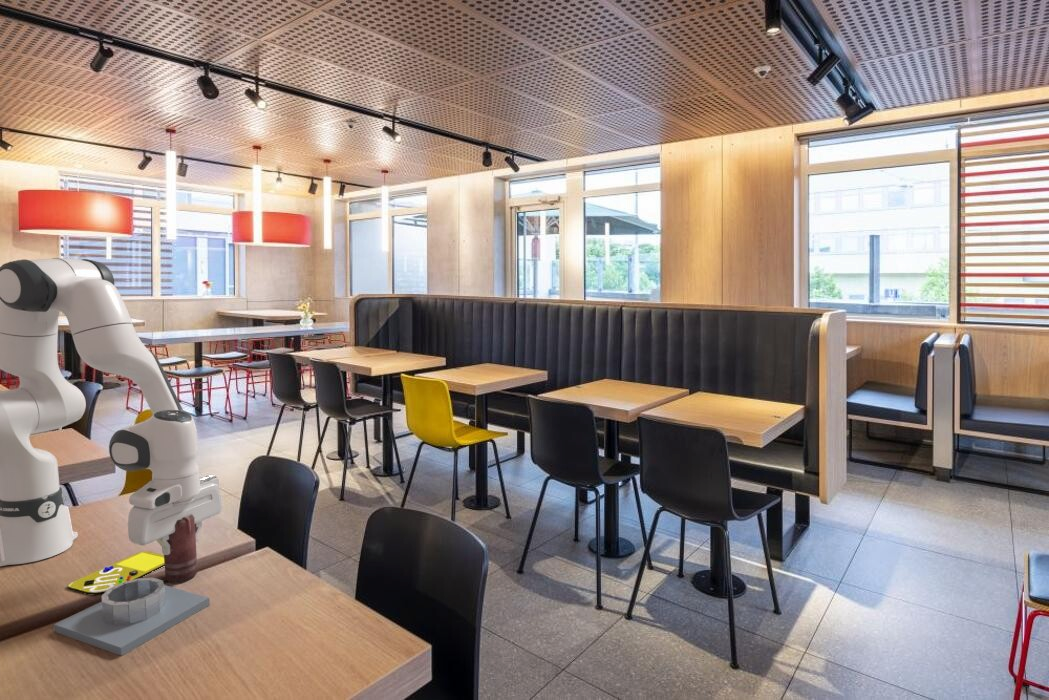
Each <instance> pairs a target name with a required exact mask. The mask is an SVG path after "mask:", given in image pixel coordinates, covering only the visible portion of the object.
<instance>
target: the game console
mask: <svg viewBox="0 0 1049 700" xmlns="http://www.w3.org/2000/svg"><path fill="white" fill-rule="evenodd" d="M163 566H165V565H164V554H160V553H157V552H152V551H147V550H144V551H140V552H136V553H134V554H132V555H129V556H127V557H126V558H123V559H121V560H119V561H116V562H114V563H111V564H110V565H107V566H105V567H102V568H100V569H99V570H96V571H94V572H92V573H89V574H87V575H84V576H83V577H80V578H77V579H76V580H74V581H71V582H70V583H69V584H68V585H67V588H68V590H70V591H73V590H74V592H76V593H80V592H82V593H81V594H84V593H86V594H85V595H88V594H94V595H93V596H99V595H101V596H102V595H103V594H104V593H105V592H106V591H107V590H108V589H109V588H112V587H114V586H116V585H118V584H120V583H123V582H126V581H130V580H134V579H139V578H141V577H143V576H145V575H147V574H149V573H151V572H152V571H155V570H157V569H159V568H161V567H163ZM163 568H164V567H163ZM161 569H162V568H161ZM159 570H160V569H159ZM157 571H158V570H157ZM155 572H156V571H155ZM151 574H152V573H151ZM149 575H150V574H149ZM147 576H148V575H147ZM145 577H146V576H145ZM143 578H144V577H143Z"/></svg>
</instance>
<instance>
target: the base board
mask: <svg viewBox="0 0 1049 700" xmlns="http://www.w3.org/2000/svg"><path fill="white" fill-rule="evenodd" d="M164 585H165V599H166V606H165V607H164V608H163V609H162V611H161V612H160V613H158V614H156V615H155V616H153V617H151V618H149V619H147V620H144V621H141V622H137V623H134V624H130V625H117V626H113V625H110V624H107V623H104V620H103V611H102V600H101V601H100V602H97V603H95V604H93V605H92V606H91V605H90V606H89V607H87V608H84V610H80V611H79V612H77V613H75V614H72V615H71V616H69V617H66V618H64V619H62V620H60V621H59V622H56V623H54V624H53V628H54V629H53V630H54V633H57V634H59V635H62V636H65V637H68V638H70V639H73V640H75V641H79V642H82V643H85V644H88V645H90V646H93V647H95V648H99V649H101V650H104V651H107V652H109V653H113V654H116V655H118V656H121V657H122V656H124V655H126V654H127V653H129V652H131V651H133V650H134V649H136V648H138V647H139V646H141V645H143V644H144V643H146V642H148V641H150V640H152V639H153V638H155V637H157V636H159V635H160V634H162V633H164V632H165V631H167V630H169V629H171V628H172V627H174V626H176V625H177V624H179V623H181V622H182V621H185V620H186V619H188V618H190V617H191V616H193V615H194V614H196V613H198V612H199V611H200V612H201V610H203V609H205V608H207V607H209V606H210V604H211V603H210V597H207V596H204V595H200V594H197V593H193V592H190V591H186V590H183V589H179V588H176V587H173V586H170V585H169V586H168V585H166V584H164Z"/></svg>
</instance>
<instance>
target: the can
mask: <svg viewBox="0 0 1049 700" xmlns="http://www.w3.org/2000/svg"><path fill="white" fill-rule="evenodd" d="M166 541H167V542H168V543H169V545H170V546H171V554H169V555H164V554H163V555H164V565H165V567H164V577H165V580H167V582H169V583H171V584H177V583H185V582H188V581H191V580H192V579H194V578H195V576H196V575H197V573H198V560H197V559H198V557H197V555H198V554H197V542H196V536H195V520H194V516H193V515H191V516H189V517H183V519H181V520H177V522H176V524H175V532H174V533H172V534H170V535H169V540H166Z"/></svg>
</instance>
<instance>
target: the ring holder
mask: <svg viewBox="0 0 1049 700" xmlns="http://www.w3.org/2000/svg"><path fill="white" fill-rule="evenodd" d="M165 585H166V584H165V583H164V580H162V579H159V578H156V577H143V578H139V579H134V580H130V581H126V582H123V583H120V584H118V585H116V586H114V587H112V588H109V589H108V590H107V591H106V592H105V593H104V594H101V596H100V597H101V601H102V611H103V620H104V623H107V624H110V625H113V626H117V625H130V624H134V623H137V622H141V621H144V620H147V619H149V618H151V617H153V616H155V615H156V614H158V613H160V612H161V611H162V609H163V608H164V607H165V606H166V599H165Z"/></svg>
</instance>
